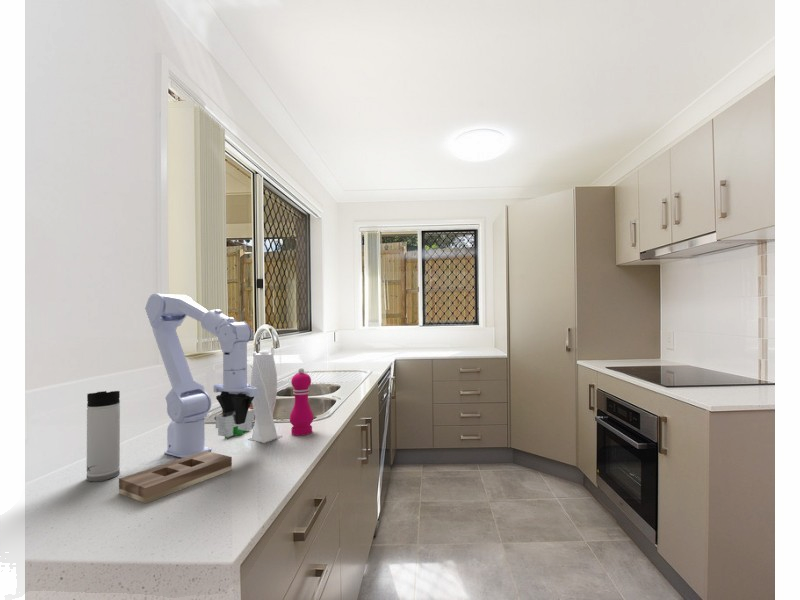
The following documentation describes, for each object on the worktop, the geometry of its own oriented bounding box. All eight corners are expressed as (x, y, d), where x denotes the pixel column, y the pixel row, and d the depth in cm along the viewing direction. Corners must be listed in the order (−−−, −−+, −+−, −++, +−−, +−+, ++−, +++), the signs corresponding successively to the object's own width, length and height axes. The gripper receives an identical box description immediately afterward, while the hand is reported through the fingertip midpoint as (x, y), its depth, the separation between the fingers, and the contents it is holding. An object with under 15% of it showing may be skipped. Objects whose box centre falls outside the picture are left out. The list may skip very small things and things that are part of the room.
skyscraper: (285, 438, 125) (284, 344, 126) (263, 446, 118) (263, 346, 119) (266, 434, 130) (266, 344, 130) (244, 441, 123) (244, 346, 124)
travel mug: (83, 484, 92) (84, 393, 93) (89, 474, 98) (89, 388, 99) (117, 479, 95) (117, 390, 96) (121, 469, 101) (121, 386, 102)
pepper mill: (292, 429, 133) (291, 366, 134) (314, 429, 134) (314, 366, 135) (287, 436, 126) (287, 369, 127) (312, 435, 127) (311, 369, 127)
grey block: (215, 435, 104) (215, 415, 104) (245, 427, 112) (245, 408, 112) (225, 437, 102) (224, 417, 102) (254, 428, 110) (254, 409, 110)
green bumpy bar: (237, 438, 126) (236, 423, 126) (225, 438, 126) (224, 423, 126) (253, 428, 137) (253, 414, 137) (242, 428, 137) (242, 414, 137)
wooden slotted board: (118, 493, 87) (118, 478, 88) (205, 462, 105) (205, 450, 105) (145, 503, 82) (145, 488, 83) (231, 469, 100) (231, 456, 100)
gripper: (267, 368, 107) (267, 422, 107) (229, 365, 114) (229, 415, 114) (244, 372, 101) (245, 429, 101) (206, 369, 108) (206, 422, 108)
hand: (235, 422), depth 107 cm, fingers closed on grey block, 3 cm apart
